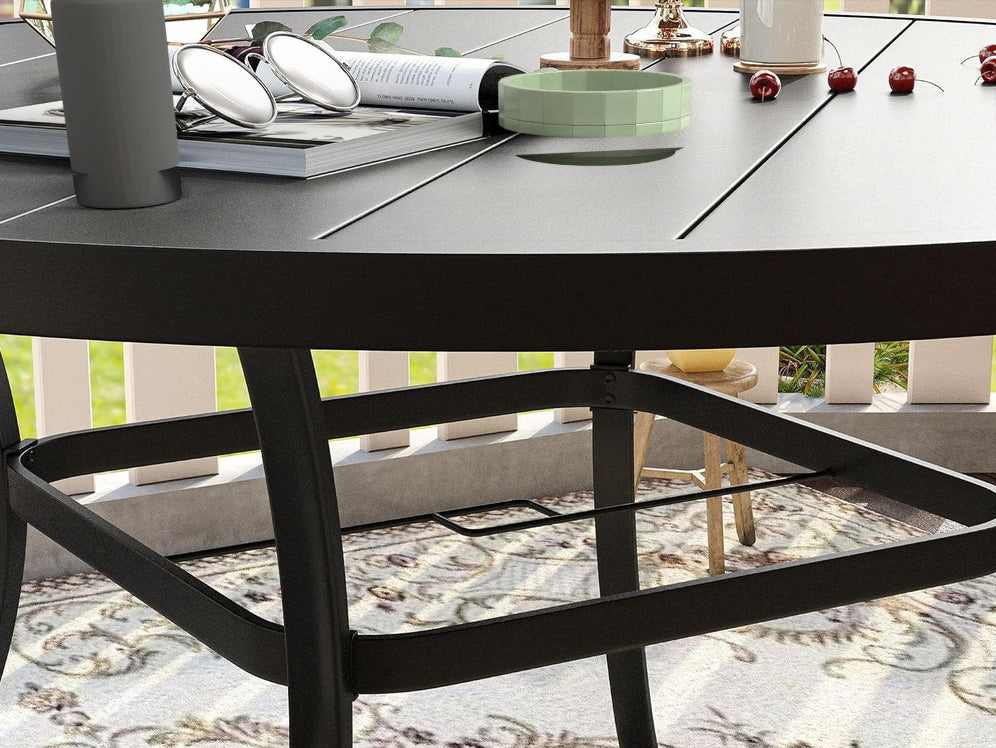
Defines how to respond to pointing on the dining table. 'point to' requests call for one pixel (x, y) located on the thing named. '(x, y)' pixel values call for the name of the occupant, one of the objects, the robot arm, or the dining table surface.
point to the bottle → (117, 101)
